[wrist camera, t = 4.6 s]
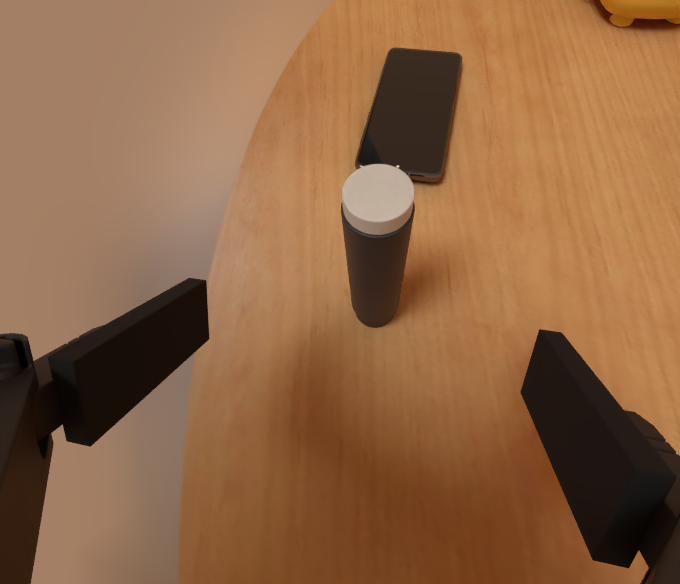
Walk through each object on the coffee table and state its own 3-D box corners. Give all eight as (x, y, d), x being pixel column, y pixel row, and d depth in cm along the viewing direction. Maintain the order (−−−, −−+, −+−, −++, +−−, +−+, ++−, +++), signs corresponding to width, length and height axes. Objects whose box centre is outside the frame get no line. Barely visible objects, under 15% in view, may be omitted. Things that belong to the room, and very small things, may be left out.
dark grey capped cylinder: (352, 330, 27) (337, 224, 15) (353, 289, 28) (340, 162, 16) (398, 330, 27) (419, 223, 15) (396, 289, 28) (415, 160, 16)
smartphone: (463, 52, 37) (442, 178, 30) (461, 62, 38) (439, 187, 31) (388, 45, 38) (352, 166, 31) (388, 56, 39) (352, 175, 32)
